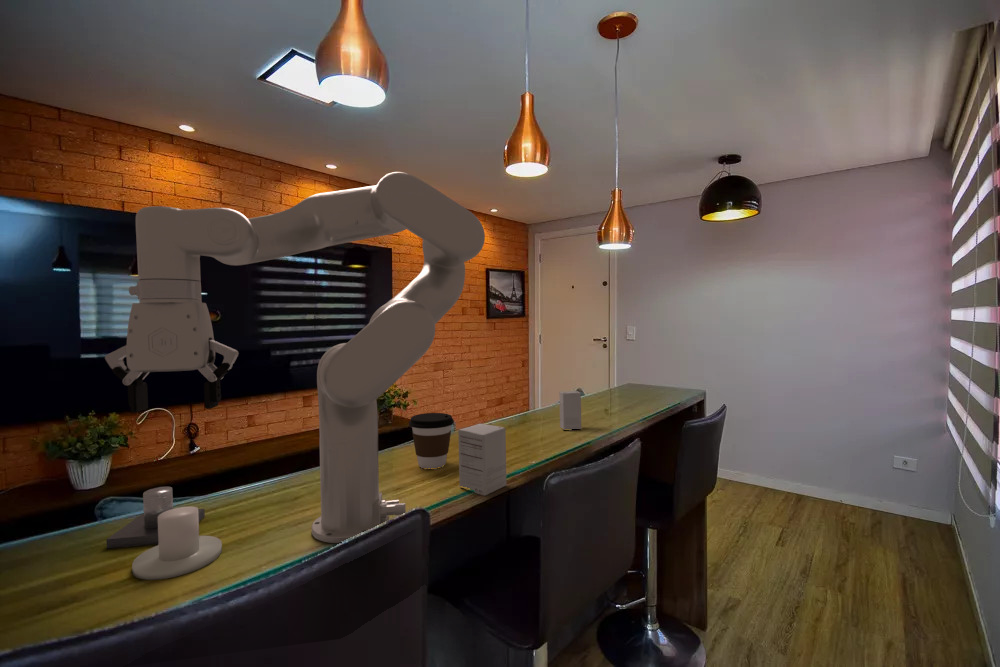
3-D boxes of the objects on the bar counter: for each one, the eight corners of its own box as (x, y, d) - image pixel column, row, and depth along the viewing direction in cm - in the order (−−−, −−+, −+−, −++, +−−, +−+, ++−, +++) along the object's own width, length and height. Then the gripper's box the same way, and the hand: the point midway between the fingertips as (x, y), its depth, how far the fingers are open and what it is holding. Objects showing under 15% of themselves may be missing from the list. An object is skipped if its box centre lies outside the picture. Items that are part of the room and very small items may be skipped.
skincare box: (577, 427, 151) (577, 390, 151) (582, 430, 147) (581, 392, 147) (559, 428, 150) (558, 391, 150) (563, 431, 146) (563, 393, 146)
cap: (190, 559, 68) (189, 518, 67) (151, 563, 67) (150, 521, 66) (207, 540, 73) (206, 502, 73) (172, 543, 72) (171, 505, 72)
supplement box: (481, 478, 103) (480, 422, 103) (507, 486, 99) (506, 427, 98) (458, 488, 98) (457, 428, 97) (484, 496, 93) (483, 434, 92)
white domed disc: (233, 538, 76) (232, 532, 76) (203, 574, 65) (202, 567, 65) (158, 545, 74) (157, 539, 74) (114, 583, 63) (114, 576, 63)
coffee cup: (456, 458, 119) (455, 412, 118) (453, 472, 108) (452, 421, 107) (413, 459, 118) (412, 412, 118) (405, 473, 107) (404, 422, 107)
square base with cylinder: (204, 516, 85) (203, 478, 84) (177, 542, 75) (175, 499, 75) (143, 521, 83) (141, 482, 83) (106, 548, 73) (105, 504, 73)
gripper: (86, 293, 63) (92, 417, 64) (224, 291, 66) (229, 410, 67) (120, 295, 70) (126, 407, 71) (243, 294, 74) (248, 401, 74)
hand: (176, 409), depth 69 cm, fingers open, 9 cm apart
